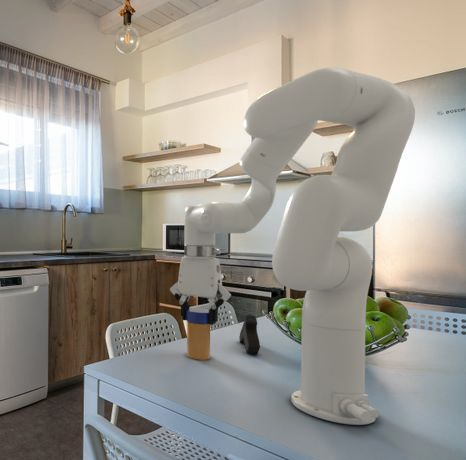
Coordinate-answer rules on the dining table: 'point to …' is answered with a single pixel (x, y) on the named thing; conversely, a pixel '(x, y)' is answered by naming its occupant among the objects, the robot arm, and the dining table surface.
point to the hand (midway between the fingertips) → (198, 321)
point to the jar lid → (197, 315)
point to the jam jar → (198, 341)
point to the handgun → (250, 335)
